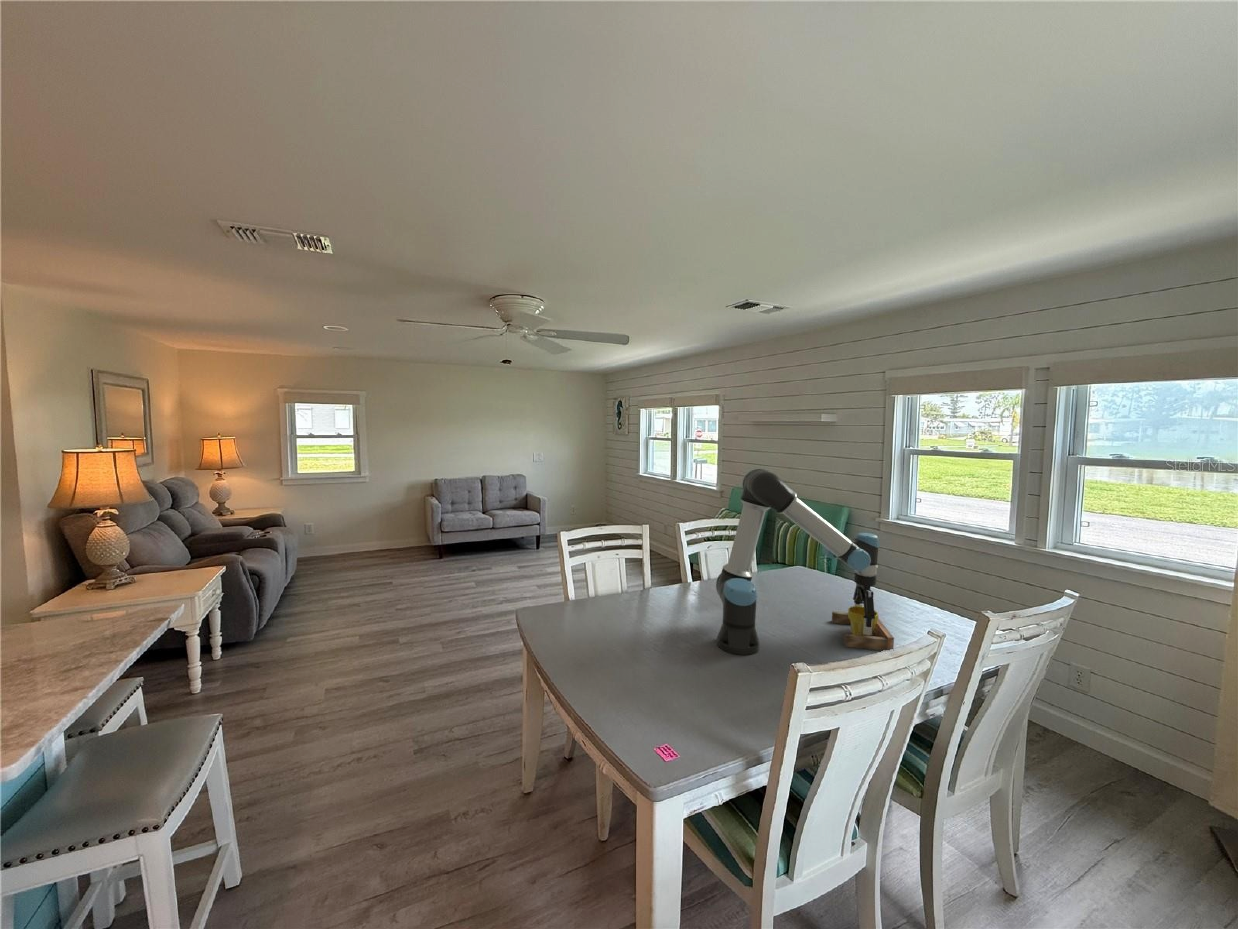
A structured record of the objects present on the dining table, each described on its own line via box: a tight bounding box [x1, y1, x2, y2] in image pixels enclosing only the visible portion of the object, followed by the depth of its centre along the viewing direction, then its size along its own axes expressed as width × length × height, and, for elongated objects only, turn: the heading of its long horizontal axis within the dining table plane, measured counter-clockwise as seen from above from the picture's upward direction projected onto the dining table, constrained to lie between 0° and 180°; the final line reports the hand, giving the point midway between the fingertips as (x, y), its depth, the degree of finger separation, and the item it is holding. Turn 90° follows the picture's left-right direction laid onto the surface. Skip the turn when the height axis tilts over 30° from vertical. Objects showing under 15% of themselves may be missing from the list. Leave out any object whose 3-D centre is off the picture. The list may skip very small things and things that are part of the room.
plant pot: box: [847, 605, 879, 636], centre depth 191 cm, size 10×10×10 cm
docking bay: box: [831, 611, 895, 651], centre depth 191 cm, size 16×24×5 cm, turn 168°
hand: (862, 627), depth 191 cm, fingers open, 13 cm apart
